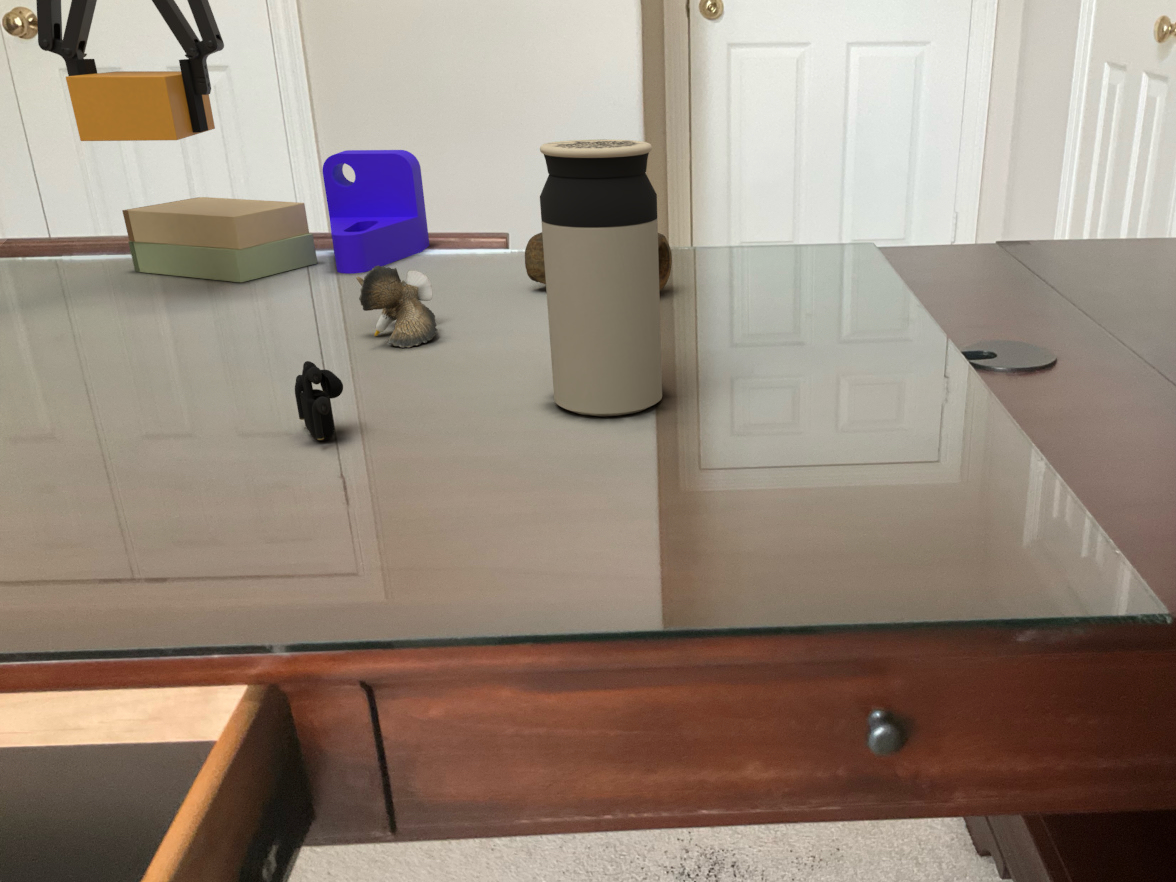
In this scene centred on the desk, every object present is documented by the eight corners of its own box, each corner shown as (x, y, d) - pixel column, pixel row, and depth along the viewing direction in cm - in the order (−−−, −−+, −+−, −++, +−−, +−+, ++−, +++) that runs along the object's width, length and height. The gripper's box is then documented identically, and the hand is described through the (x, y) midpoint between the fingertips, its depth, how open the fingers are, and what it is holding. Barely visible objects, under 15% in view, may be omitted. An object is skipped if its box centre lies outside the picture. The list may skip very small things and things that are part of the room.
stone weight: (677, 287, 116) (676, 223, 113) (658, 302, 110) (656, 234, 107) (546, 281, 119) (542, 218, 116) (521, 294, 113) (515, 229, 110)
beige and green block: (132, 272, 125) (118, 209, 122) (216, 253, 135) (205, 195, 132) (240, 283, 119) (227, 217, 116) (319, 263, 129) (309, 202, 126)
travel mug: (682, 406, 79) (677, 145, 71) (583, 425, 75) (566, 152, 67) (631, 379, 85) (621, 136, 77) (537, 396, 81) (517, 142, 74)
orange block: (177, 140, 101) (164, 76, 99) (80, 141, 100) (65, 76, 98) (215, 128, 113) (204, 71, 110) (128, 129, 111) (116, 71, 109)
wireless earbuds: (297, 424, 76) (285, 354, 73) (334, 418, 77) (322, 348, 75) (322, 454, 70) (310, 379, 68) (361, 447, 71) (350, 373, 69)
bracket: (344, 246, 140) (330, 150, 135) (429, 245, 140) (418, 149, 135) (301, 274, 124) (283, 166, 119) (397, 273, 124) (383, 165, 119)
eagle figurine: (337, 316, 100) (341, 320, 91) (371, 246, 99) (377, 243, 91) (414, 355, 103) (425, 361, 95) (447, 287, 102) (460, 288, 94)
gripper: (231, -130, 101) (272, 127, 111) (-15, -136, 98) (50, 129, 108) (209, -141, 95) (255, 134, 104) (-55, -148, 92) (18, 135, 101)
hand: (151, 131), depth 106 cm, fingers closed on orange block, 8 cm apart
